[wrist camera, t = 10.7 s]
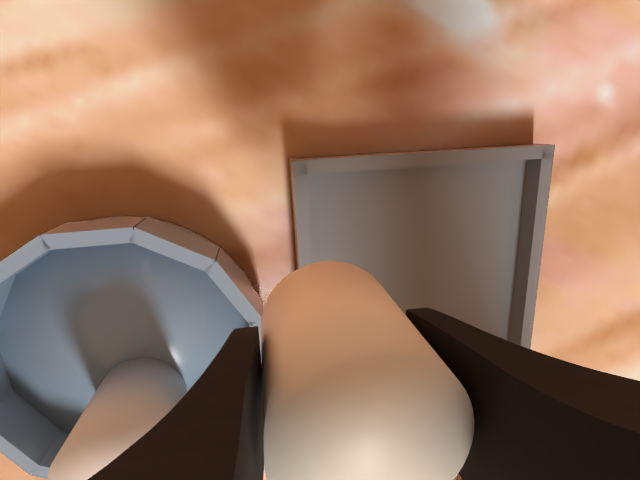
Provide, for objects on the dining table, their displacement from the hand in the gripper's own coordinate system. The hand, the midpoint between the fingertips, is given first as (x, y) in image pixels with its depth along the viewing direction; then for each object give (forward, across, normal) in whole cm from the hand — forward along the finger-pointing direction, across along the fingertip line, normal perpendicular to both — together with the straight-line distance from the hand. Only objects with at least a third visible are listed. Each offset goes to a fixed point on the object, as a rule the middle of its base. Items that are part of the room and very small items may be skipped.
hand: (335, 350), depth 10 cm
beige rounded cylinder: (+1, 0, 0) cm, 1 cm away
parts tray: (+9, -6, +3) cm, 11 cm away
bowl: (+9, +8, +4) cm, 12 cm away
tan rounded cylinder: (+8, +8, +6) cm, 13 cm away
